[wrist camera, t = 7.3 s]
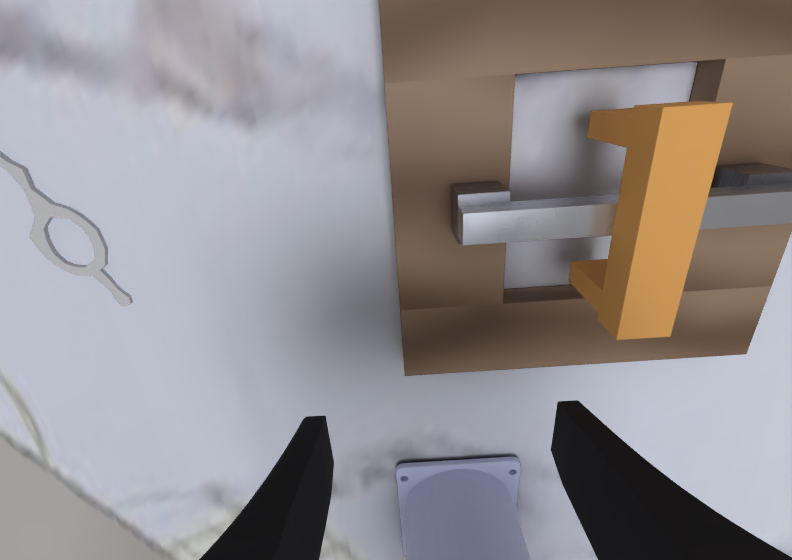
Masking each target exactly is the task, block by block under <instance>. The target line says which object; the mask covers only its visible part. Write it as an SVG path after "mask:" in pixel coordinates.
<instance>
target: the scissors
mask: <svg viewBox="0 0 792 560" xmlns="http://www.w3.org/2000/svg"><path fill="white" fill-rule="evenodd" d="M0 166H1V167H2V168H3V169H5V170H6V171H7V172H8V173H9V174H10V175H11V176H12V177H13V178H14V179H15V181H16V182H17V183H18V184H19V185H20V186H21V188H22V189H23V190H24V191H25V194H26V196H27V198H28V201H29V203H30V205H31V208H32V210H33V212H34V215H35V216H34V224H33V227H32V230H31V233H30V236H29V237H30V238H31V240H32V241H33V243H34V244H35V246H36V247H37V248H38V250H39V251H40V252H41V253H42V254H43V255H44V256H45V257H46V258H47V259H49V260H50V261H51V262H52V263H54V264H55V265H57V266H58V267H60V268H61V269H63V270H65V271H66V272H68V273H72V274H75V275H82V276H93V277H94V278H96V279H97V280H98V281H99V282H100V283H101V284H102V285H103V286H105V287H106V288H107V289H108V290H109V291H110V292H111V293H112V294H113V297H114V298H115V299H116V301H117V302H118V303H119V304H120V305H121V306H128V305H129V304H131V303H132V302H133V301H132V298H131V295H129V294H128V293H126V292H125V291H123V290H122V289H121V288H120V287H119V286H118V285H117V284H116V283H115V281H114V280H113V279H112V278H111V277H110V276H109V275H108V274H107V273H106V272H105V271H104V270H103V269H102V268H104V267H105V266H106V265H107V264H108V247H107V245H106V243H105V240H104V238H103V236H102V234H101V232H100V229H99V228H98V227H97V226H96V225H95V224H94V223H93V222H91V221H90V220H89V219H88V218H86V217H85V216H84V215H83V214H81V213H79V212H78V211H76V210H74V209H72V208H70V207H67V206H64V205H61V204H58V203H55V202H54V201H52V200H51V199H50V198H48V197H47V196H46V195H44V194H43V193H42V192H41V191H39V190H38V189H37V188H35V186H34V183H33V181H32V178H31V176H30V174H29V171H28V169H27V168H26V167H24V166H22V165H20V164H18V163H16V162H14V161H12V160H10V159H9V158H8V157H7V156H6V155H4V154H3V153H2V152H1V151H0ZM52 218H64V219H70V220H71V221H73V222H74V223H75V224H77V225H78V226H80V227H81V228H82V229H83V230H84V231H85V232H86V233H87V235H88V236H89V238H90V240H91V242H92V245H93V248H94V254H95V259H94V260H93V261H92V263H91V264H90V265H88V266H84V265H75V264H73V263H71V262H68V261H67V260H66V259H64V258H63V257H62V256H61V255H60V254H59V253H58V252H57V251H56V249H55V248H54V246H53V244H52V242H51V240H50V237H49V232H48V228H47V227H48V225H49V223H50V221H51V220H52Z"/></svg>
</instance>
